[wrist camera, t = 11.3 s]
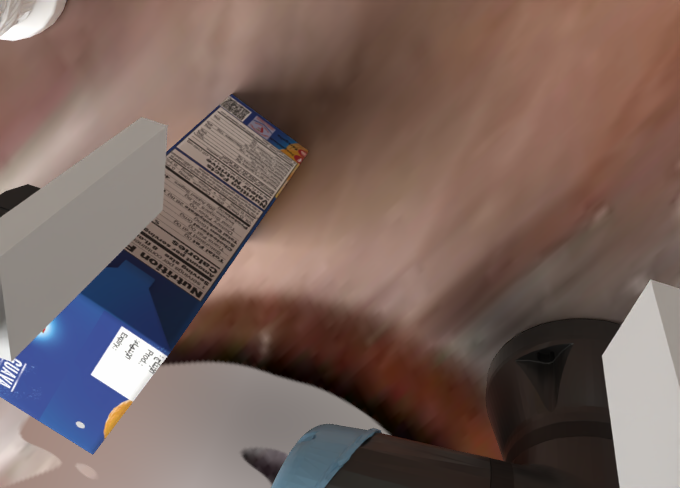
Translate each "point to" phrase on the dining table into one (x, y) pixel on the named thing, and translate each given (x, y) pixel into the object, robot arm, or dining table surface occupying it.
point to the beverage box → (154, 278)
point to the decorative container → (27, 17)
